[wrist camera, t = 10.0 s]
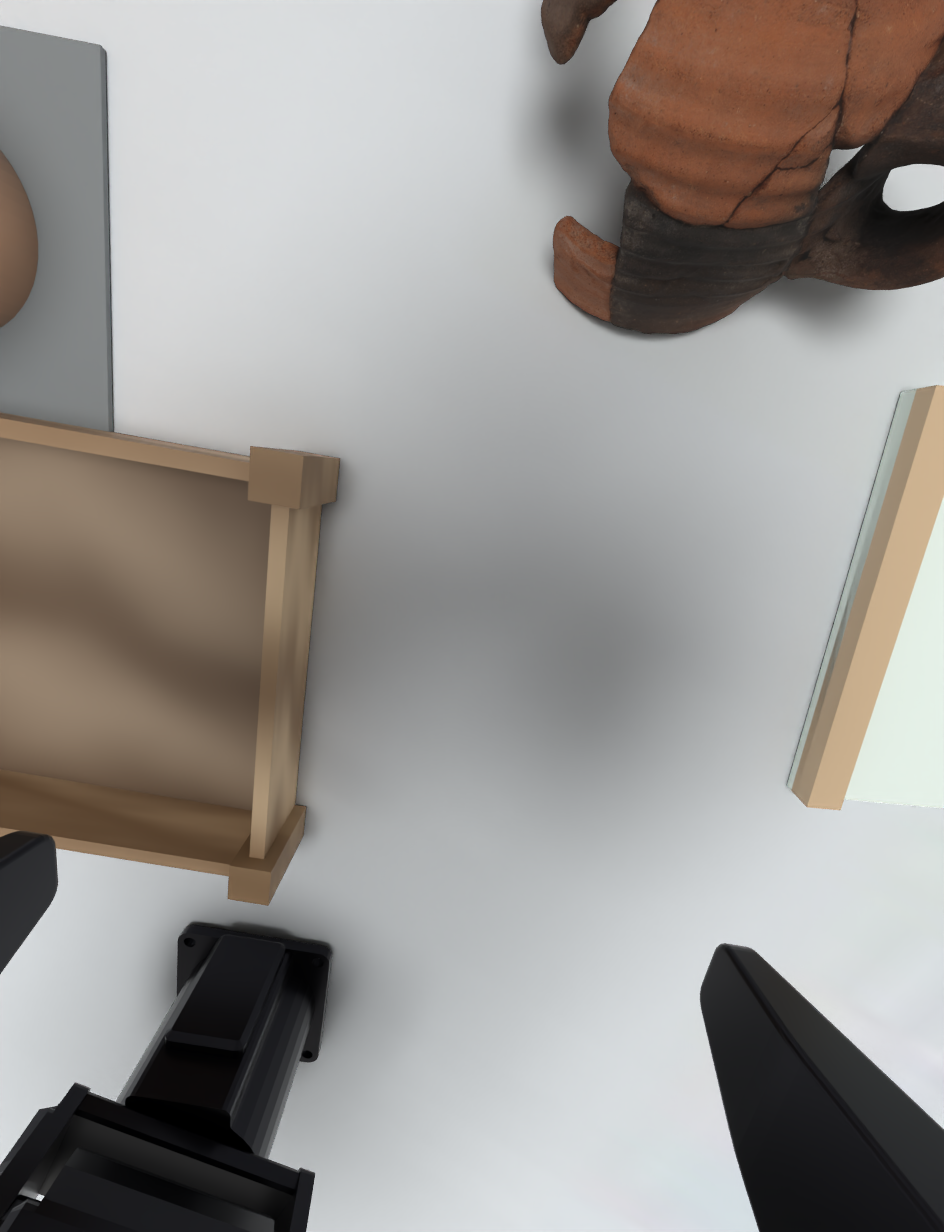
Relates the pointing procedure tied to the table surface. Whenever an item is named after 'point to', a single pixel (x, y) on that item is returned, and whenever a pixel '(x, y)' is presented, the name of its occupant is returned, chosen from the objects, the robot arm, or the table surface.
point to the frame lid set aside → (887, 636)
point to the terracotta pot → (15, 243)
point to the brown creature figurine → (758, 154)
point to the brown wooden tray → (156, 646)
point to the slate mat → (59, 229)
